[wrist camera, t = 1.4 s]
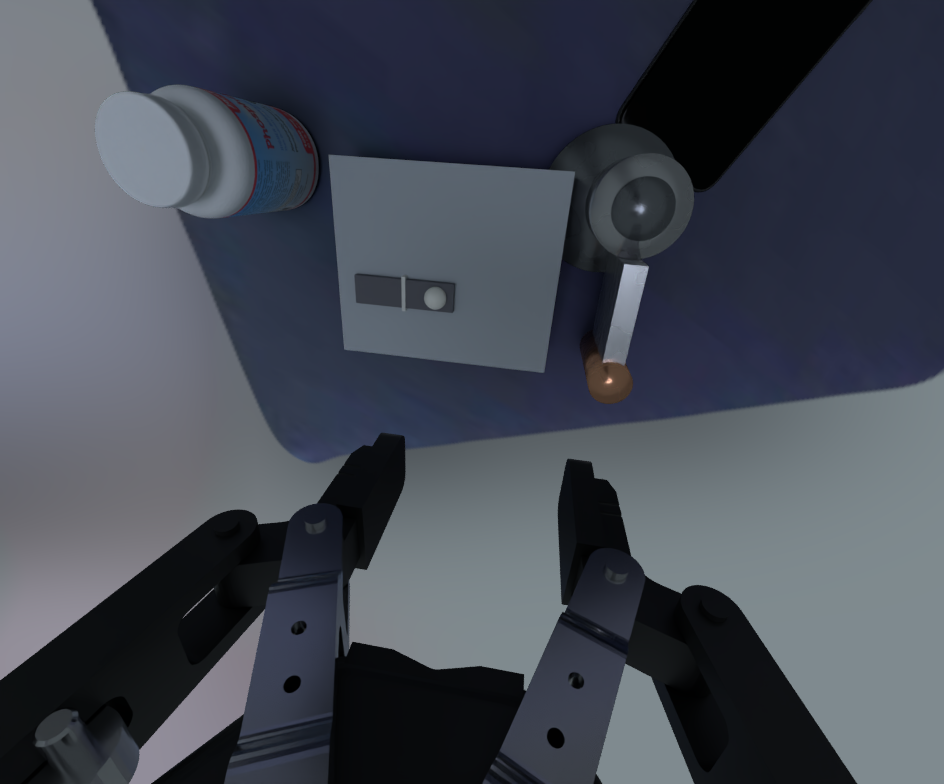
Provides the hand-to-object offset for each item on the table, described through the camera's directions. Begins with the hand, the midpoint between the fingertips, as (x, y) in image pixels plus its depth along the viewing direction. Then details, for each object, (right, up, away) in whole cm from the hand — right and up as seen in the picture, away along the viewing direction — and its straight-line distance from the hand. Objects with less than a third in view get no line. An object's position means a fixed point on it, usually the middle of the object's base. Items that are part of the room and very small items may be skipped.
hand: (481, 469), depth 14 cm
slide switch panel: (-1, +12, +16) cm, 20 cm away
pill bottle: (-13, +18, +15) cm, 27 cm away
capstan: (+8, +12, +14) cm, 20 cm away
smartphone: (+15, +22, +9) cm, 28 cm away
